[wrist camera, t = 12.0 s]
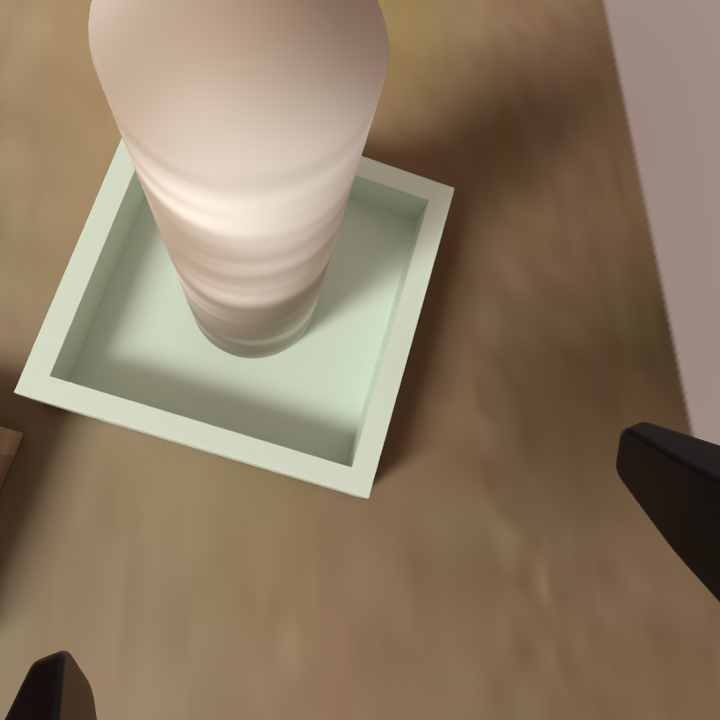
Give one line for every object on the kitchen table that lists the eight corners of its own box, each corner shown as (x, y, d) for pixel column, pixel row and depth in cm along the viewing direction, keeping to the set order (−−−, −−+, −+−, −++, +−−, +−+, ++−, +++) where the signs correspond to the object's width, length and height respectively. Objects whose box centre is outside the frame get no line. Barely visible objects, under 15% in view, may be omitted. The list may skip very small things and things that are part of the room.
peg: (339, 298, 24) (445, 48, 10) (255, 383, 23) (246, 232, 9) (252, 217, 24) (241, -139, 10) (164, 298, 23) (20, 20, 9)
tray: (436, 216, 26) (454, 188, 23) (357, 496, 23) (368, 498, 21) (157, 121, 25) (146, 81, 22) (41, 402, 22) (13, 392, 20)
